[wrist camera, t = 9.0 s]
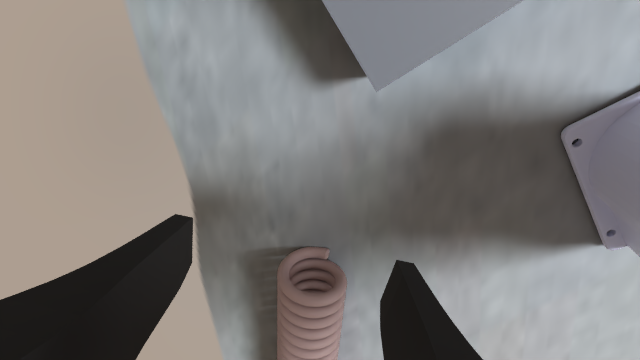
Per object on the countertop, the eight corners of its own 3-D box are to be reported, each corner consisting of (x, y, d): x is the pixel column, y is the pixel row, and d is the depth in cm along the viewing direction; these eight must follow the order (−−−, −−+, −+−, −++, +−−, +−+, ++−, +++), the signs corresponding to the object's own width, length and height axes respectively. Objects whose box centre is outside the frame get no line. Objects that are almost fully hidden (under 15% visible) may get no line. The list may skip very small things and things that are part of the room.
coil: (330, 449, 29) (352, 294, 20) (274, 448, 29) (273, 292, 20) (328, 392, 33) (345, 244, 25) (279, 392, 33) (279, 242, 24)
